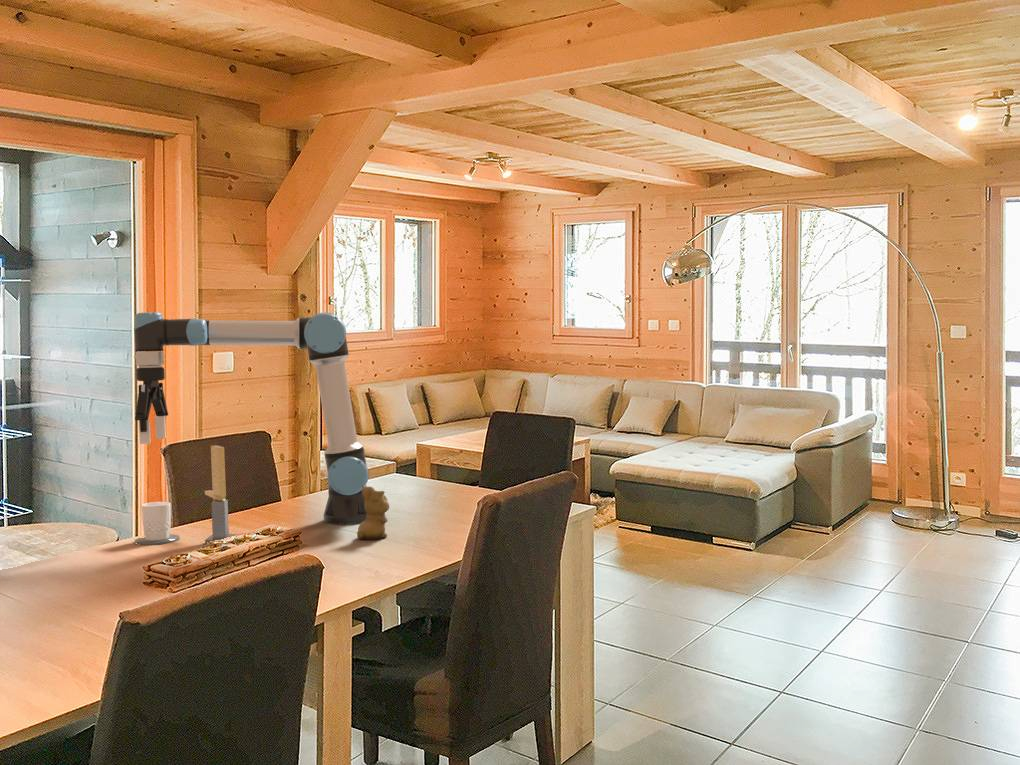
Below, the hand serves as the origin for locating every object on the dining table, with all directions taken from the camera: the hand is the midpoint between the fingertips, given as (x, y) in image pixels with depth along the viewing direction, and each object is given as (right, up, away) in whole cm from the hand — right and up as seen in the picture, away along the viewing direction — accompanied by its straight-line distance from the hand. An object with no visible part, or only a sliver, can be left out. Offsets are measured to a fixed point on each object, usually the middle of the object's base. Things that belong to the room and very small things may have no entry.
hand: (153, 441), depth 262 cm
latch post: (+20, -28, -2) cm, 35 cm away
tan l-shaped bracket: (+17, -17, +1) cm, 24 cm away
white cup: (+1, -28, +1) cm, 28 cm away
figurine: (+64, -28, -3) cm, 70 cm away
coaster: (+1, -29, +1) cm, 29 cm away
